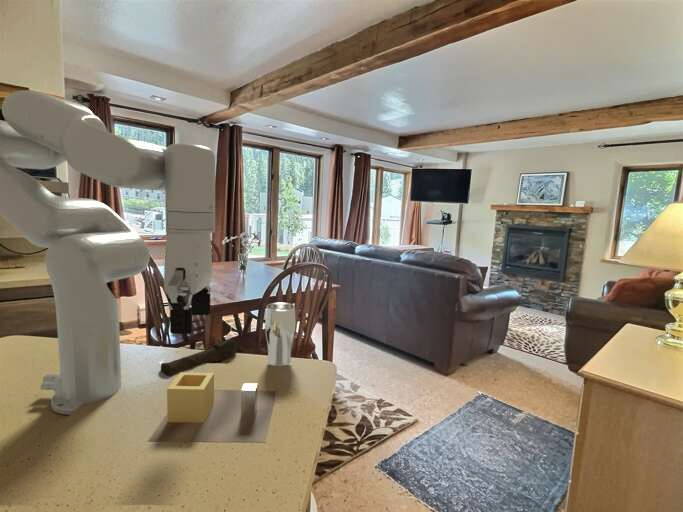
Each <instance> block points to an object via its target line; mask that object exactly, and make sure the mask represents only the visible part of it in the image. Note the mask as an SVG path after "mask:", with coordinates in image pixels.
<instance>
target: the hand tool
mask: <svg viewBox="0 0 683 512" xmlns="http://www.w3.org/2000/svg"><path fill="white" fill-rule="evenodd" d="M237 347H238V346H237V344H236V342H235V340H234V339H229V338H227V339H224V340H222V341H218V342H216V343H214V344H213V346H212V347H210V348H208V349H205V350H202V351H199V352H196V353H194V354H193V353H192V354H191V355H188V356H183V357H182V358H177V359H175V360H172V361H170V362H162V363H161V365H160V371H161V373H162V374H164V375H165V376H170V377H172V376H173V375H175V374H179V373H180V372H183V371H186V370H188V369H192V368H194V367H196V366H198V365H202V364H213V363H215V362H217V363H222V362H224V361H227V360H228V359H230V358H232V357H234V356H235V355H236V354H237V352H238V351H237Z"/></svg>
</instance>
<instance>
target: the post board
mask: <svg viewBox="0 0 683 512" xmlns="http://www.w3.org/2000/svg"><path fill="white" fill-rule="evenodd" d="M277 391H278V390H263V389H262V390H258V383H243V385H242V387H241V389H214V404H213V406H212V408H211V410H210V412H209V414H208V416H207V418H206V420H205V421H204V423H201V422H168V417H167V414H166V415H165V416H164V417H163V420H162V421H161V422H160V423H159V425H158V426H157V428H155V431H154V432H153V433H152V435H151V436H150V437H149V439H148V440H147V442H154V443H155V442H156V443H158V442H160V443H161V442H164V443H165V442H169V443H172V442H174V443H175V442H177V443H181V442H182V443H183V442H184V443H266V439H267V437H268V436H267V435H268V431H269V427H270V422H271V417H272V413H273V409H274V404H275V400H276V395H277Z"/></svg>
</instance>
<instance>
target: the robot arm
mask: <svg viewBox="0 0 683 512" xmlns="http://www.w3.org/2000/svg"><path fill="white" fill-rule="evenodd" d="M1 113H2V117H3V118H4V120H1V119H0V216H2V218H4V220H5V221H6V222H8V224H10V225H11V226H12V227H13V228H14V229H15V230H16V231H17V232H18V233H19V234H20V235H21V236H22V237H23V238H24V239H25V240H27V241H28V242H29V243H30V244H33V245H34V246H37V247H39V248H47V250H46V253H45V259H44V261H45V268H46V272H47V274H48V277H49V281H50V283H51V288H52V291H53V296H54V304H55V315H56V328H57V330H56V331H57V345H58V359H59V374H56V373H55V374H54V373H51V374H50V373H48V374H45V375H44V376H43V379H42V383H41V385H40V390H41V391H42V390H44V391H49V390H53V392H54V395H53V396H52V398H51V400H50V406H51V409H52V411H54V412H55V413H57V414H61V415H67V416H70V415H71V414H72V413H74V412H75V411H76V410H77V409H78V408H79V407H81V406H82V405H83V404H90V403H95V402H98V401H102V400H105V399H107V398H110V397H111V396H113V395H116V393H118V392H119V391H120V389H121V388H122V368H121V367H122V366H121V365H122V364H121V363H122V362H121V342H120V341H121V339H120V338H121V337H120V336H121V335H120V333H121V332H120V315H119V305H118V301H117V299H116V297H115V296H114V294H113V293H112V291H111V290H110V288H109V287H108V284H107V283H110V282H114V281H118V280H124V279H127V278H130V277H134V276H136V275H139V274H141V273H143V272H144V271H145V269H147V267H148V266H149V262H150V257H151V256H150V255H151V254H150V249H149V247H148V245H147V243H146V242H145V240H144V238H143V237H142V236H141V235H140V234H139V233H138V232H137V231H135V229H134V228H132V226H131V225H129V224H128V223H127V222H126V221H125V220H124V219H123V218H122V217H120V216H119V215H118V213H116V212H115V211H114V210H113V209H112V208H110V207H109V206H108V205H107V204H105V203H103V202H101V201H99V200H97V199H92V198H85V197H84V198H83V197H66V196H59V195H56V194H54V193H52V192H51V191H50V190H49V189H47V188H46V187H45V186H44V185H43V184H42V183H41V182H40V181H39V180H38V179H36V178H34V177H33V176H32V175H30V174H28V173H27V172H24V171H22V170H21V169H33V170H49V169H52V168H55V167H57V166H59V165H61V164H63V163H65V162H67V164H68V165H69V166H70V167H71V168H72V169H73V170H75V171H77V172H78V173H81V174H83V175H85V176H87V177H89V178H91V179H93V180H95V181H98V182H101V183H102V184H105V185H108V186H110V187H111V186H112V187H114V188H118V189H119V188H120V189H135V190H137V189H138V190H149V191H163V192H165V193H164V194H165V195H164V196H165V197H164V198H165V205H164V206H165V232H167V234H166V235H167V237H166V244H165V252H164V268H163V269H164V273H163V274H164V275H163V290H164V293H165V294H167V296H168V298H167V301H168V309H169V330H170V331H169V332H170V333H171V334H172V335H173V334H175V335H190V334H192V333H193V316H208V315H210V314H211V286H210V283H211V282H212V277H213V275H212V274H213V259H212V257H213V252H212V238H211V234H213V233H214V234H215V233H216V156H215V153H214V151H213V150H212V149H211V148H210V147H207V146H205V145H204V146H203V145H199V144H194V143H193V144H191V143H173V144H169V145H168V146H165V145H164V146H163V145H160V144H156V143H155V144H154V143H151V142H147V141H142V140H138V139H134V138H127V137H124V136H120V135H117V134H114V133H112V132H109V131H108V129H107V127H106V125H105V123H104V122H103V121H102V120H101V119H100V118H99V116H96V115H95V114H94V113H93V112H92V111H91V110H90V109H89V108H88V107H86V106H84V105H83V104H81V103H78V102H75V101H72V100H69V99H64V98H61V97H58V96H54V95H50V94H48V93H44V92H40V91H36V90H17V91H14V92H12V93H10V94H9V95H7V96H6V97H5V99H4V100H3V101H2V104H1ZM18 168H19V169H18ZM20 168H21V169H20ZM184 297H185V298H184ZM190 306H191V308H190Z"/></svg>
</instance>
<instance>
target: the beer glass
mask: <svg viewBox="0 0 683 512" xmlns="http://www.w3.org/2000/svg"><path fill="white" fill-rule="evenodd" d="M264 320H265V325H264V326H265V327H264V328H265V329H264V330H265V339H266V343H267V354H268V355H267V360H266V365H267V366H268V365H270V366H272V367H286V366H292V365H293V363H292V359H291V358H292V357H291V356H292V355H291V353H292V352H291V351H292V345H293V340H294V336H295V330H296V306H295V305H294V304H292V303H290V302H272V303H269V304H267V305H266V309H265V319H264Z"/></svg>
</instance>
